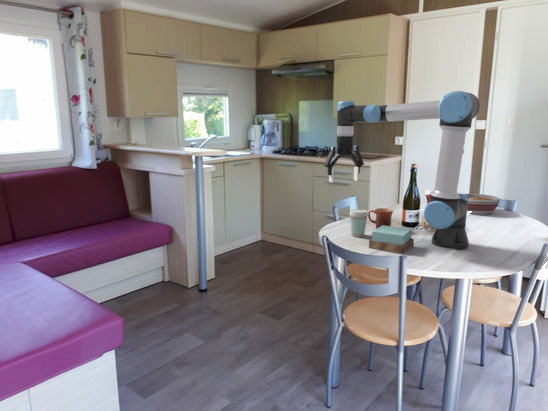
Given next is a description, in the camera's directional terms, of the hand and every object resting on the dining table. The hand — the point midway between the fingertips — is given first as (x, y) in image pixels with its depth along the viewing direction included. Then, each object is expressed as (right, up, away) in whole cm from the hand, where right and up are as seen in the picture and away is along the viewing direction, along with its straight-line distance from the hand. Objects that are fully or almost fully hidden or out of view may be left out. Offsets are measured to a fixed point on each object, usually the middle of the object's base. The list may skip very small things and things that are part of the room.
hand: (343, 181), depth 207 cm
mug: (+19, -24, +11) cm, 32 cm away
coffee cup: (+7, -26, 0) cm, 27 cm away
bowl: (+84, -16, +48) cm, 98 cm away
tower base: (+17, -30, -18) cm, 39 cm away
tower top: (+17, -26, -19) cm, 36 cm away
